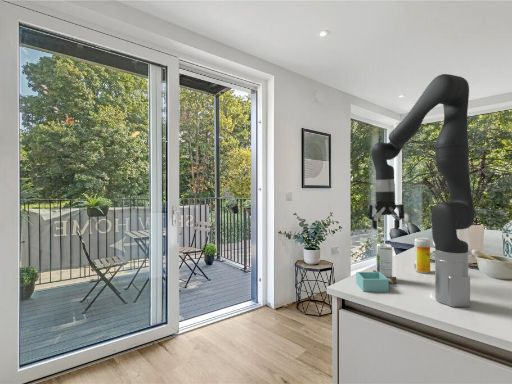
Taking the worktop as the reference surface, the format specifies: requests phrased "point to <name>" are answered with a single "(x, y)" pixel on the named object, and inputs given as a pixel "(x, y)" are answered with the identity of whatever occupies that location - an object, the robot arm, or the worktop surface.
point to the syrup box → (384, 259)
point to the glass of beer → (422, 255)
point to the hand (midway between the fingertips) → (385, 229)
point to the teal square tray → (372, 282)
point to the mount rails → (390, 278)
